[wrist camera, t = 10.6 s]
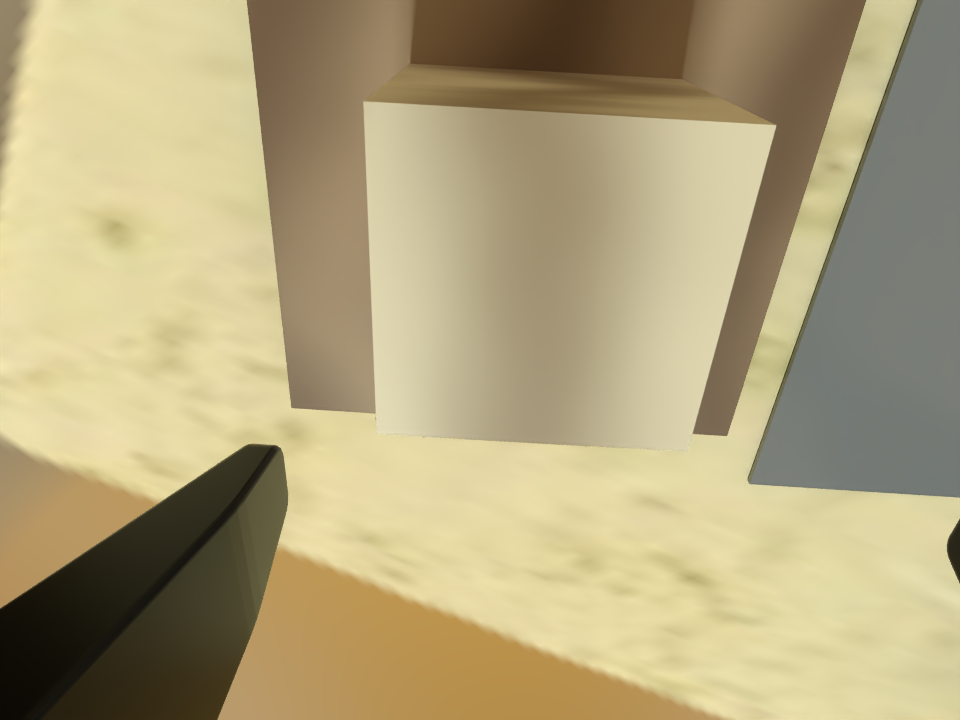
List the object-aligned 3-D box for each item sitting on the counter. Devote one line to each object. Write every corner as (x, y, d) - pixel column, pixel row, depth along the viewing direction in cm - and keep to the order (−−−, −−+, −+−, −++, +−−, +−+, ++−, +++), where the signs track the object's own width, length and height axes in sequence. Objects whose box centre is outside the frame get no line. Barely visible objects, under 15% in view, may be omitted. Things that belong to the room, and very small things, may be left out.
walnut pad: (862, -90, 15) (897, -98, 13) (713, 409, 22) (727, 435, 20) (254, -133, 15) (230, -145, 13) (304, 382, 22) (291, 408, 20)
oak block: (681, 79, 15) (776, 125, 10) (634, 322, 18) (687, 451, 13) (410, 63, 15) (363, 101, 10) (411, 309, 18) (376, 434, 13)
